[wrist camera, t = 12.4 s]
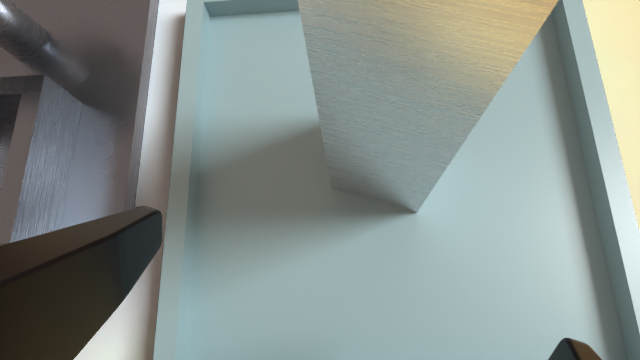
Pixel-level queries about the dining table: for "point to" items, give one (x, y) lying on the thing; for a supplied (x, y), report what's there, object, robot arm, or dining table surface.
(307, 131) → the tray
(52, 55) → the grey socket fixture
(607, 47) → the dining table surface
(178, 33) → the dining table surface
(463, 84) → the pin
